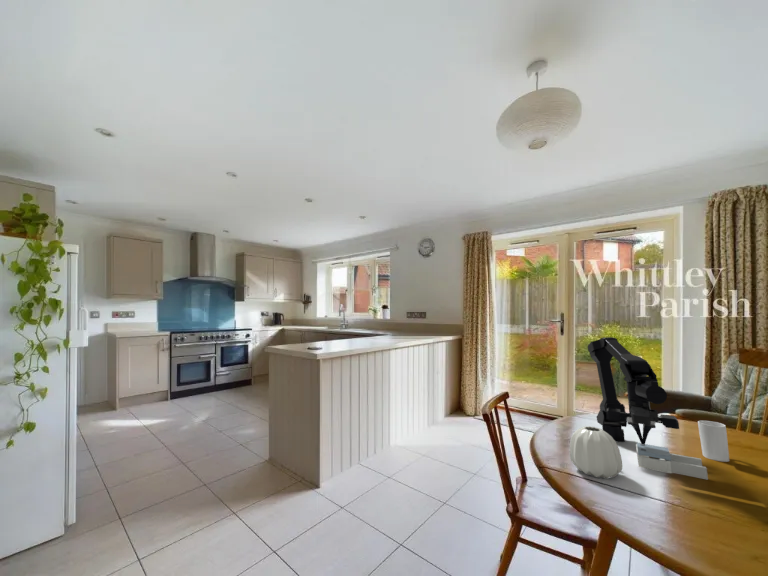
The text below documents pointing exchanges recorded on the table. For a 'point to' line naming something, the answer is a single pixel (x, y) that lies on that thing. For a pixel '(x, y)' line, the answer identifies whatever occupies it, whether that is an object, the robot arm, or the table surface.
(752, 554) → the table surface
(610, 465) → the vase
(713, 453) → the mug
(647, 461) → the white open box
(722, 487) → the table surface
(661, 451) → the cover
